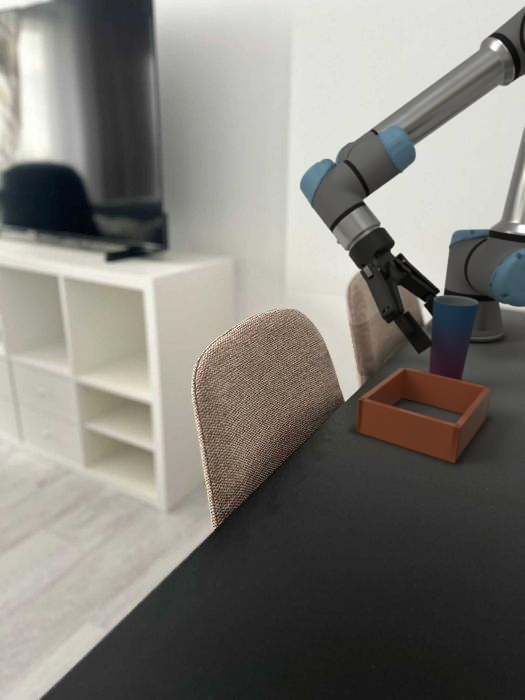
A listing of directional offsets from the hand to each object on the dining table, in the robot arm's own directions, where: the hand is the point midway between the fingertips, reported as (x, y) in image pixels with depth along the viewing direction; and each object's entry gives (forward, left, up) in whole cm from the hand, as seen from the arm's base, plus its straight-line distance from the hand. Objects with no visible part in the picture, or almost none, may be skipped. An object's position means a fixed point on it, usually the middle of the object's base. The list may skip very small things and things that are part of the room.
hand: (440, 338), depth 85 cm
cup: (0, +2, -8) cm, 8 cm away
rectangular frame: (+16, +4, -8) cm, 18 cm away
